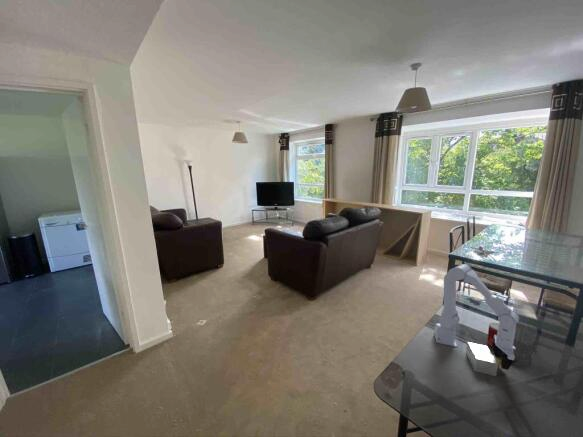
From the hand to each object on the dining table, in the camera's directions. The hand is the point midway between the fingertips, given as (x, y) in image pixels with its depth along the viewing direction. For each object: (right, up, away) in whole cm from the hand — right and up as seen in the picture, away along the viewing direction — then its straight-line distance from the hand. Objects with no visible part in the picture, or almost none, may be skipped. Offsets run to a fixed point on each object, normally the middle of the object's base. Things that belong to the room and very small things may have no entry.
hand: (500, 362), depth 109 cm
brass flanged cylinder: (-3, -3, +2) cm, 4 cm away
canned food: (+12, -1, +15) cm, 19 cm away
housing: (-7, -3, +3) cm, 8 cm away
